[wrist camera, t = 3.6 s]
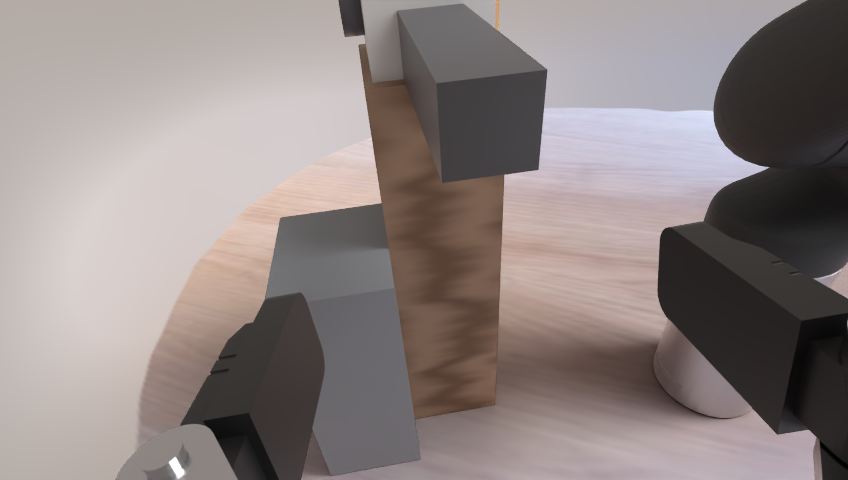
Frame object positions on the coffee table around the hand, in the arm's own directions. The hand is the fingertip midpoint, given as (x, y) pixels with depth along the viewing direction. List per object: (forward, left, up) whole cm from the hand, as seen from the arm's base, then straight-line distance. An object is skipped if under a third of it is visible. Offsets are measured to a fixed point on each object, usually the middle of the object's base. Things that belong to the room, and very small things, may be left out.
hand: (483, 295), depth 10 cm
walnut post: (-2, -23, -33) cm, 40 cm away
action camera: (-2, -17, -1) cm, 17 cm away
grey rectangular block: (+6, -19, -33) cm, 38 cm away
